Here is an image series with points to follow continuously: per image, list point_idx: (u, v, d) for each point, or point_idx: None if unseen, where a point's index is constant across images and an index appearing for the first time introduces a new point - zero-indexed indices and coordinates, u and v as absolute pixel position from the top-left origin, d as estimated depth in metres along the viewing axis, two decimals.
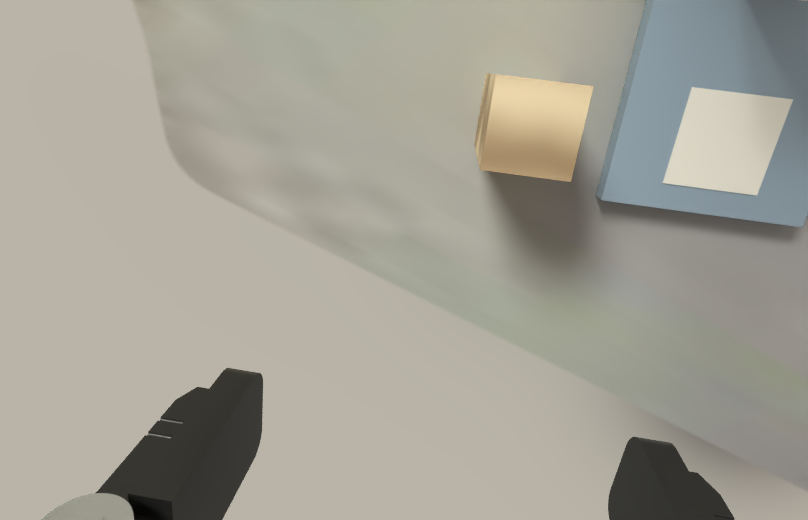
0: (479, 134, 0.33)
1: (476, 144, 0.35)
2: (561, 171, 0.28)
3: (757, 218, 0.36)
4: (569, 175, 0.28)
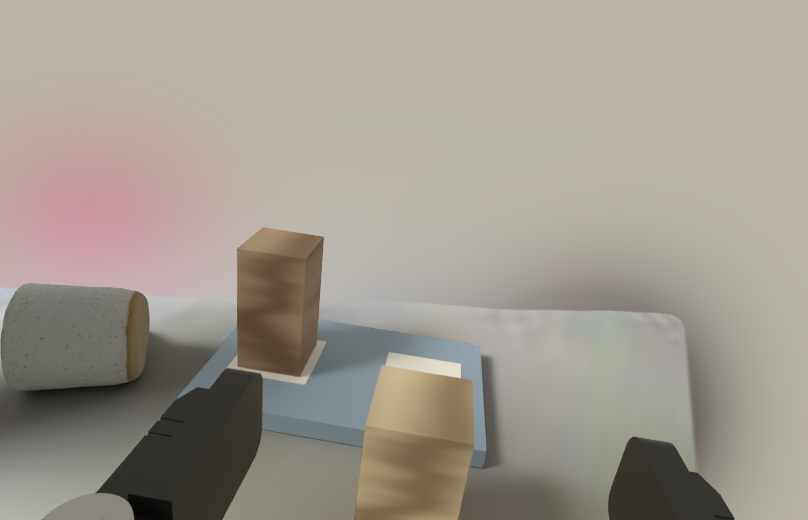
0: None
1: None
2: (463, 385, 0.27)
3: (478, 363, 0.45)
4: (466, 380, 0.27)
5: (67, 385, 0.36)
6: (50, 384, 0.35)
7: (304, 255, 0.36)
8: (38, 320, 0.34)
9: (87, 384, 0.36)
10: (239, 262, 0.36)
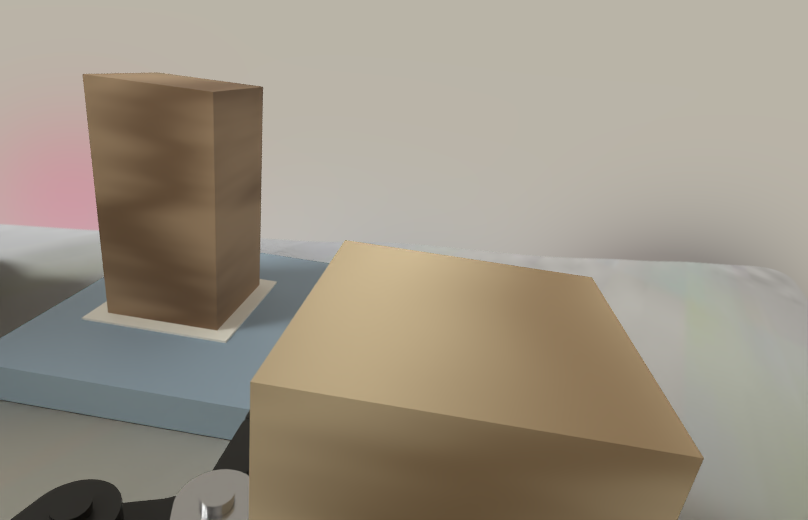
0: None
1: None
2: (573, 286, 0.10)
3: None
4: (576, 276, 0.10)
5: None
6: None
7: (213, 90, 0.19)
8: None
9: None
10: (89, 104, 0.19)
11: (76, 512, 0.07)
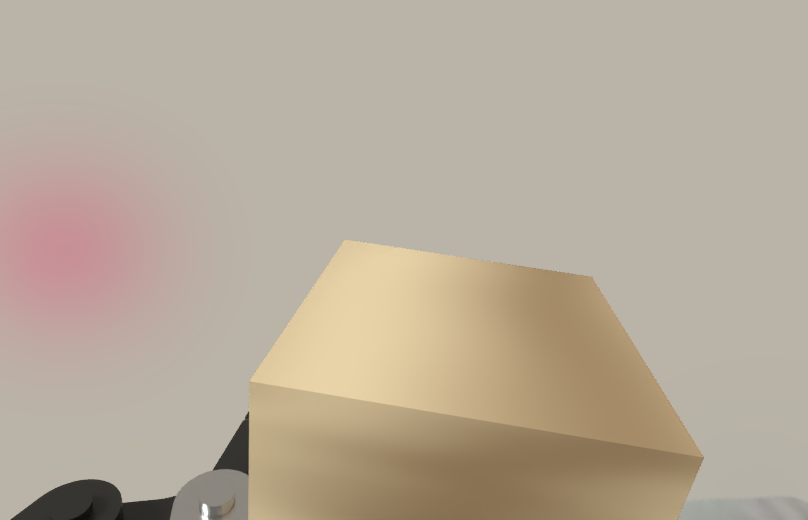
0: None
1: None
2: (573, 285, 0.10)
3: None
4: (576, 276, 0.10)
5: None
6: None
7: None
8: None
9: None
10: None
11: (76, 512, 0.07)
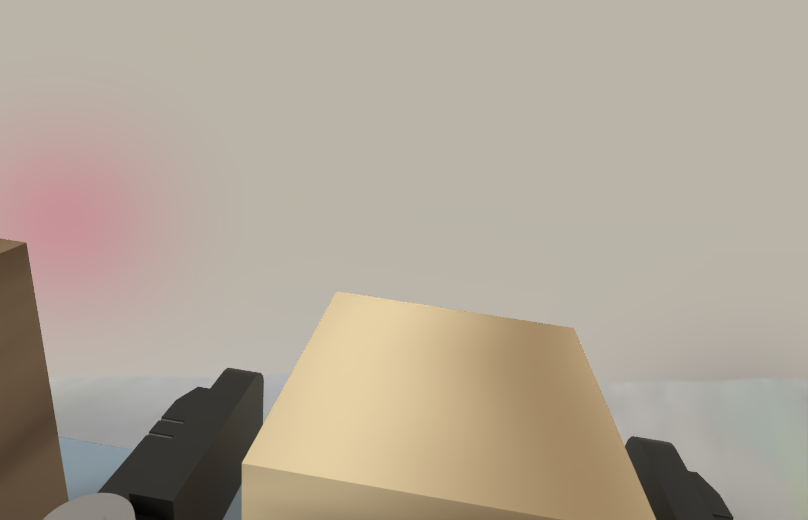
0: None
1: None
2: (555, 339, 0.10)
3: None
4: (558, 328, 0.10)
5: None
6: None
7: None
8: None
9: None
10: None
11: None
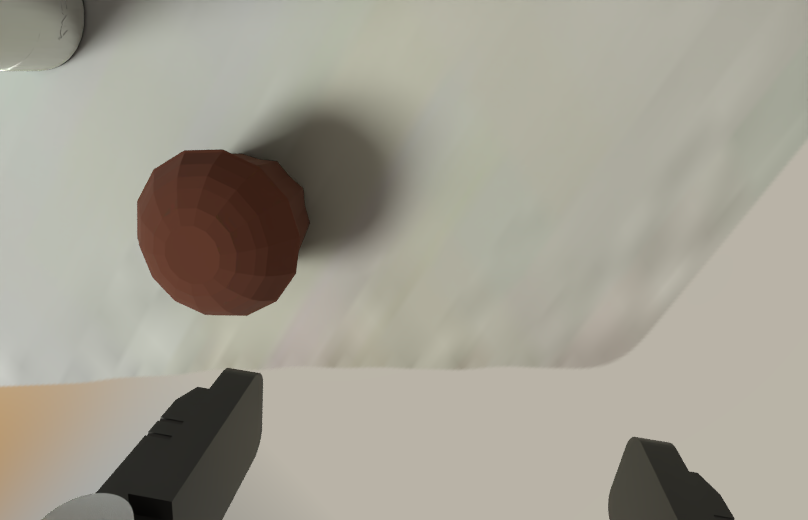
0: None
1: None
2: None
3: None
4: None
5: None
6: None
7: None
8: None
9: None
10: None
11: None
